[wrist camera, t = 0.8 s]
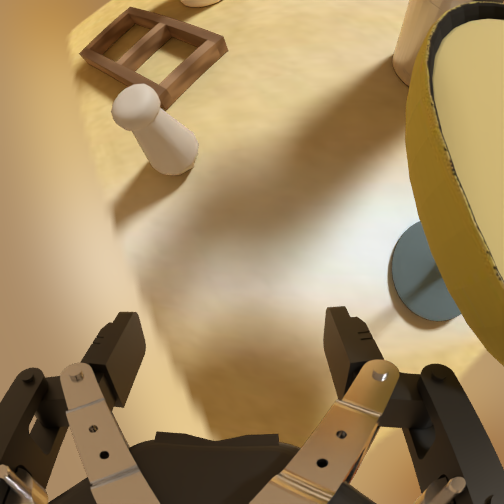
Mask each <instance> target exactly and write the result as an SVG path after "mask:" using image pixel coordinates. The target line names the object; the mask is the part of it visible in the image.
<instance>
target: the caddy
mask: <svg viewBox="0 0 504 504" xmlns="http://www.w3.org/2000/svg"><path fill="white" fill-rule="evenodd" d="M135 24H137V25H140V26H143V27H146V28H149V29H151V30H150V31H149V32H148V33H147V34H146V35H144V36H143V37H142V38H141V39H140V40H139V41H138V42H137V43H136V44H134V45H133V46H132V47H131V48H130V49H129V50H128V51H127V52H126V53H125V54H124V55H123V56H122V57H121V58H120V59H119V60H118V61H117V62H115V61H113V60H111V59H108V58H106V57H104V56H102V54H103V53H104V52H105V51H106V50H107V49H108V48H109V47H110V46H111V45H113V44H114V43H115V42H116V41H117V40H118V39H119V38H120V37H121V36H122V35H123V34H124V33H126V32H127V31H128V30H129V29H130V28H131V27H132V26H133V25H135ZM171 37H174V38H176V39H179V40H182V41H184V42H187V43H189V44H191V45H194V46H196V47H199V48H197V49H196V50H195V51H194V52H193V53H192V54H191V55H190V56H189V57H187V58H186V59H185V60H184V61H183V62H182V63H181V64H180V65H179V66H178V67H177V68H176V69H175V70H174V71H172V72H171V73H170V74H169V75H168V76H167V77H166V78H165V79H164V80H163V81H162V82H161V83H160V84H159V85H158V84H156V83H154V82H153V81H151V80H149V79H147V78H145V77H143V76H142V75H140V74H138V73H136V72H135V71H136V70H137V69H138V68H139V67H140V66H141V65H142V64H143V63H144V62H145V61H146V60H147V59H148V58H149V57H150V56H151V55H153V54H154V53H155V52H156V51H157V50H158V49H159V48H160V47H161V46H162V45H164V44H165V43H166V42H167V41H168V40H169V39H170V38H171ZM227 51H228V49H227V46H226V43H225V40H224V37H223V36H221V35H218V34H216V33H213V32H210V31H208V30H205V29H202V28H199V27H197V26H194V25H191V24H188V23H185V22H182V21H179V20H176V19H172V18H169V17H166V16H163V15H159V14H156V13H152V12H149V11H145V10H141V9H137V8H133V7H129V8H128V9H127V10H126V11H125V12H123V13H122V14H121V15H120V16H119V17H117V18H116V19H115V20H114V21H113V22H112V23H111V24H110V25H108V26H107V27H106V28H105V29H104V30H103V31H102V32H101V33H100V34H99V35H98V36H97V37H96V38H94V39H93V40H92V41H91V42H90V43H89V44H88V45H87V46H86V47H85V48H84V49H83V50H82V51H81V52H80V53H79V54H80V55H81V56H82V58H83V59H84V60H85V61H86V62H87V63H88V64H90V65H92V66H94V67H95V68H97V69H99V70H101V71H103V72H104V73H106V74H108V75H110V76H111V77H113V78H115V79H117V80H118V81H120V82H122V83H123V84H125V85H127V86H128V87H129V86H132V85H134V84H146V85H148V86H150V87H151V88H152V89H154V90H155V92H156V93H157V95H158V97H159V99H160V103H161V104H160V106H161V107H163V108H165V109H166V110H167V109H168V108H169V107H170V106H171V105H172V104H173V103H174V102H175V101H176V100H177V99H178V98H179V97H180V96H181V95H182V94H183V93H184V92H185V91H186V90H187V89H188V88H189V87H190V86H191V85H192V84H193V83H194V82H195V81H196V80H197V79H198V78H199V77H200V76H201V75H202V74H203V73H204V72H205V71H206V70H207V69H208V68H210V67H211V66H212V65H213V64H214V63H215V62H216V61H217V60H218V59H219V58H221V57H222V56H223V55H224V54H225V53H226V52H227Z"/></svg>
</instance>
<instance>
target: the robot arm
mask: <svg viewBox="0 0 504 504" xmlns="http://www.w3.org/2000/svg"><path fill="white" fill-rule="evenodd" d="M503 1H504V0H409V4H408V7H407V11H406V15H405V18H404V22H403V25H402V29H401V32H400V35H399V38H398V42H397V45H396V48H395V52H394V55H393V59H392V63H393V68H394V70H395V72H396V74H397V75H398V76H399V78H400V79H401V80H402V81H403V82H404V83H405V84H406V85H408V86H410V81H411V76H412V71H413V66H414V63H415V60H416V56H417V54H418V52H419V50H420V47H421V45H422V43H423V41H424V39H425V37H426V35H427V33H428V31H429V29H430V27H431V26H432V25H433V24H434V23H435V22H436V21H437V20H438V19H439V18H440V17H441V16H442V15H443V14H444V13H445V12H446V11H448V10H450V9H452V8H454V7H456V6H458V5H460V4H465V3H471V2H496V3H501V4H502V3H503ZM323 342H324V351H325V355H326V358H327V361H328V365H329V368H330V372H331V375H332V378H333V382H334V385H335V389H336V392H337V396H338V399H337V400H336V401H335V403H334V404H333V405H332V407H331V408H330V410H329V411H328V412H327V414H326V415H325V417H324V418H323V420H322V421H321V422H320V424H319V425H318V426H317V428H316V429H315V430H314V432H313V433H312V434H311V436H310V437H309V438H308V440H307V441H306V442H305V444H304V445H303V446H302V447H301V448H299V447H297V446H294V445H291V444H287V443H282V442H279V437H278V434H264V435H245V436H240V437H236V438H231V439H226V440H220V441H211V440H207V439H203V438H199V437H195V436H192V435H188V434H182V433H168V432H156V436H155V440H150V441H145V442H142V443H139V444H136V445H134V446H132V447H129V445H128V443H127V441H126V439H125V438H124V435H123V433H122V431H121V429H120V428H119V425H118V423H117V421H116V419H115V417H114V415H113V413H112V410H113V407H122V408H124V406H125V403H126V401H127V398H128V395H129V393H130V390H131V388H132V385H133V383H134V380H135V377H136V375H137V372H138V370H139V367H140V365H141V362H142V360H143V357H144V355H145V349H146V344H145V339H144V335H143V331H142V327H141V323H140V319H139V316H138V314H137V313H136V312H119V313H118V315H117V317H116V318H115V320H114V321H113V323H108V324H107V325H106V326H105V327H103V328H102V329H101V330H100V332H99V333H98V335H97V338H95V340H94V341H93V344H92V345H91V346H90V348H89V349H88V351H87V352H86V354H85V356H84V357H83V359H82V361H81V362H80V363H75V364H72V365H69V366H68V367H66V368H65V369H64V370H63V371H62V373H61V375H60V376H57V377H48V378H45V376H44V374H43V372H42V371H41V370H40V369H38V368H29V369H26V370H24V371H22V372H21V373H20V374H18V376H17V377H16V379H15V380H14V382H13V383H12V385H11V386H10V388H9V390H8V391H7V393H6V394H5V396H4V398H3V399H2V401H1V403H0V504H376V503H375V502H373V501H372V500H370V499H369V498H368V497H366V496H365V495H363V494H362V493H360V492H359V491H358V490H357V489H355V488H354V487H353V486H351V485H350V483H351V481H352V479H353V478H354V476H355V474H356V472H357V470H358V468H359V467H360V465H361V463H362V461H363V459H364V457H365V455H366V454H367V452H368V450H369V448H370V446H371V444H372V442H373V441H374V439H375V437H376V435H377V433H378V431H379V429H380V427H381V426H382V427H396V428H402V430H403V433H404V436H405V439H406V442H407V445H408V449H409V452H410V455H411V458H412V461H413V465H414V468H415V472H416V475H417V478H418V482H419V486H420V489H421V493H422V495H421V496H420V497H419V498H418V499H417V500H416V501H415V502H414V504H504V469H503V467H502V465H501V463H500V461H499V458H498V456H497V454H496V452H495V450H494V447H493V446H492V443H491V441H490V439H489V437H488V435H487V433H486V431H485V429H484V427H483V425H482V423H481V421H480V419H479V418H478V416H477V414H476V412H475V410H474V408H473V406H472V404H471V402H470V401H469V399H468V397H467V395H466V393H465V392H464V390H463V388H462V386H461V384H460V383H459V381H458V379H457V377H456V376H455V374H454V372H453V371H452V370H451V369H450V368H448V367H446V366H444V365H441V364H430V365H427V366H426V367H424V368H423V370H422V372H421V374H407V373H401V372H399V370H398V368H397V367H396V366H395V365H394V364H393V363H391V362H389V361H386V360H384V358H383V356H382V354H381V352H380V350H379V348H378V346H377V344H376V342H375V341H374V339H373V337H372V335H371V333H370V331H369V329H368V327H367V325H366V323H365V322H363V321H362V320H361V319H359V318H358V317H350V315H349V313H348V311H347V309H346V307H345V306H341V307H328V308H327V310H326V318H325V328H324V339H323ZM34 415H35V416H36V418H37V420H36V422H35V424H34V426H33V428H32V430H31V433H30V434H29V424H30V422H31V420H32V418H33V416H34ZM69 426H70V429H71V432H72V435H73V438H74V441H75V444H76V447H77V449H78V452H79V455H80V457H81V461H82V463H83V466H84V469H85V471H86V474H87V476H88V477H87V478H86V479H84V480H82V481H81V482H79V483H78V484H76V485H75V486H73V487H72V488H70V489H69V490H67V491H66V492H64V493H63V494H61V495H60V496H58V497H56V498H55V499H53V500H52V501H50V502H49V503H48V494H47V492H46V490H45V489H46V486H47V483H48V480H49V477H50V475H51V472H52V469H53V466H54V463H55V461H56V458H57V455H58V452H59V450H60V447H61V444H62V442H63V439H64V437H65V434H66V432H67V429H68V427H69Z"/></svg>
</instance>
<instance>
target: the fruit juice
mask: <svg viewBox="0 0 504 504" xmlns="http://www.w3.org/2000/svg"><path fill="white" fill-rule="evenodd" d="M180 1H181V2H182V3H183V4H184V5H186V6H189V7H203V6H208V5H211V4H214V3H217V2H219V1H221V0H180Z"/></svg>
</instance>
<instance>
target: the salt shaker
mask: <svg viewBox="0 0 504 504" xmlns="http://www.w3.org/2000/svg"><path fill="white" fill-rule="evenodd" d="M160 104H161V103H160V99H159V97H158V95H157V93H156V92H155V90H154V89H152V88H151V87H150V86H148V85H146V84H134V85H132V86H129V87H127V88H125V89H124V90H123V91H122V92H121V93H119V95H118V96H117V98H116V99H115V101H114V102H113V106H112V110H111V113H112V116H113V119H114V121H115V122H116V124H118V125H119V126H120V127H122V128H124V129H125V130H128V131H132V132H133V134H134V136H135V138H136V139H137V141H138V143H139V145H140V146H141V148H142V150H143V152H144V153H145V155H146V157H147V159H148V160H149V162H150V164H151V166H152V167H153V168H154V169H156V170H157V171H158V172H160V173H162V174H167V175H180V174H182V173H184V172H186V171H187V170H189V169H191V168H193V167H194V163H195V160H196V158H197V155H198V146H199V143H198V141H197V139H196V137H195V135H194V133H193V132H192V131H190V130H189V129H188V128H186V127H185V126H184V125H182V124H181V123H180V122H178V121H177V120H176V119H174V118H173V117H172V116H170V115H169V114H168V113H166V112H165V111H164V110H163V109H161V108H160Z"/></svg>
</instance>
